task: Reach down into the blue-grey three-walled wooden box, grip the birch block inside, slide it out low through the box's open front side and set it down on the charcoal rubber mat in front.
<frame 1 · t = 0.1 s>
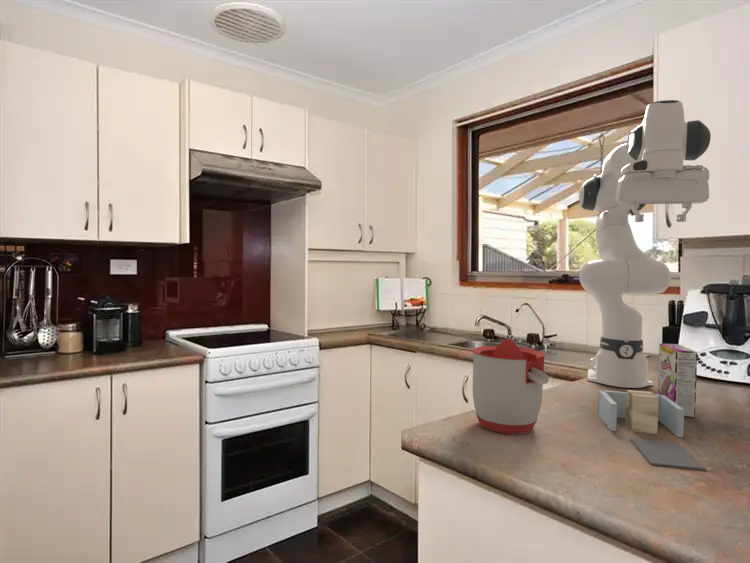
hand: (660, 221, 118), 48 cm above the counter, fingers open, 8 cm apart
candy bar box: (674, 411, 121), on the counter
citrus juicer: (508, 428, 105), on the counter
open-side box: (641, 428, 106), on the counter
charcoal mat: (665, 454, 92), on the counter
birch block: (641, 411, 106), in the open-side box
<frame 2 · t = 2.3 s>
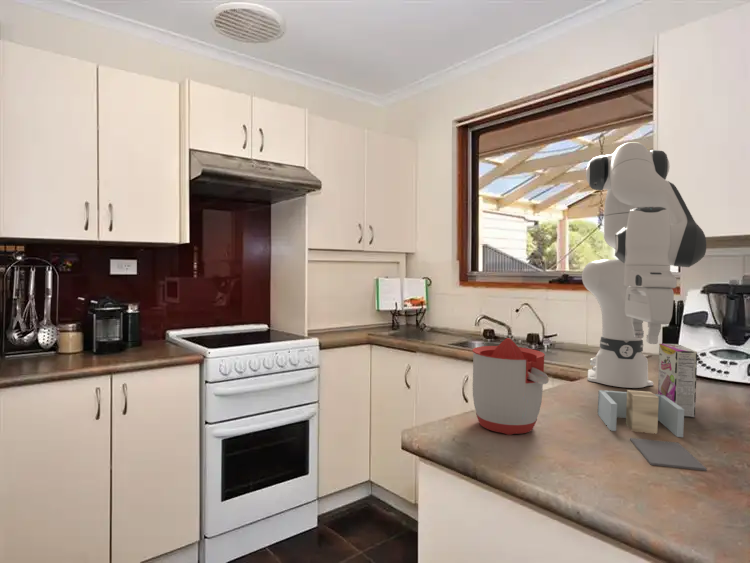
hand: (644, 340, 105), 20 cm above the counter, fingers open, 8 cm apart
nothing on the counter moved.
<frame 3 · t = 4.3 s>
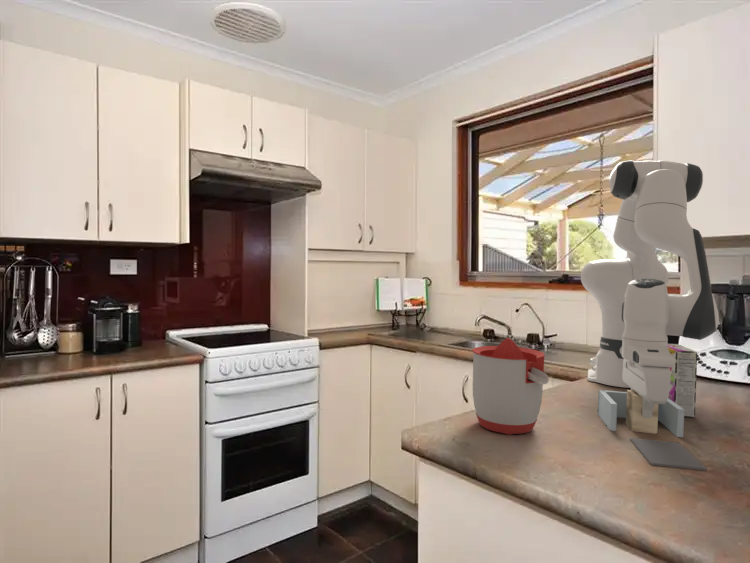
hand: (641, 412, 106), 4 cm above the counter, fingers closed on birch block, 5 cm apart
birch block: (641, 411, 106), in the open-side box, touching gripper
everything else where it was.
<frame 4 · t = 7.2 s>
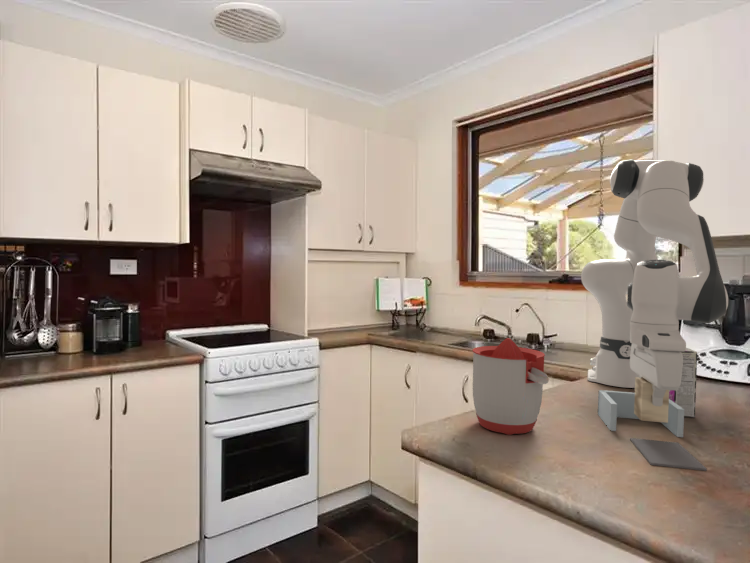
hand: (651, 401, 100), 8 cm above the counter, fingers closed on birch block, 5 cm apart
birch block: (651, 399, 100), point 8 cm above the counter, touching gripper
everything else where it was.
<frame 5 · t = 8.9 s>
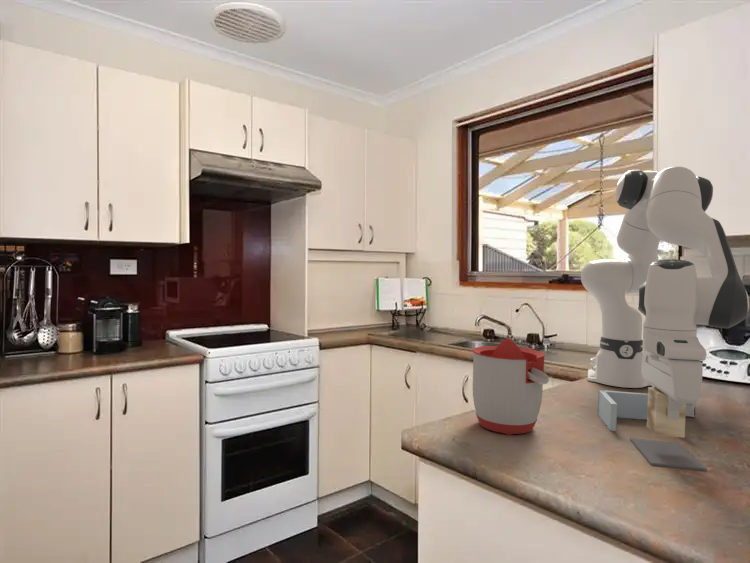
hand: (665, 413, 92), 8 cm above the counter, fingers closed on birch block, 5 cm apart
birch block: (665, 411, 92), point 8 cm above the counter, touching gripper
everything else where it was.
when the fingers open (5 cm above the counter, at t = 10.4 s): birch block stays where it is, resting on charcoal mat.
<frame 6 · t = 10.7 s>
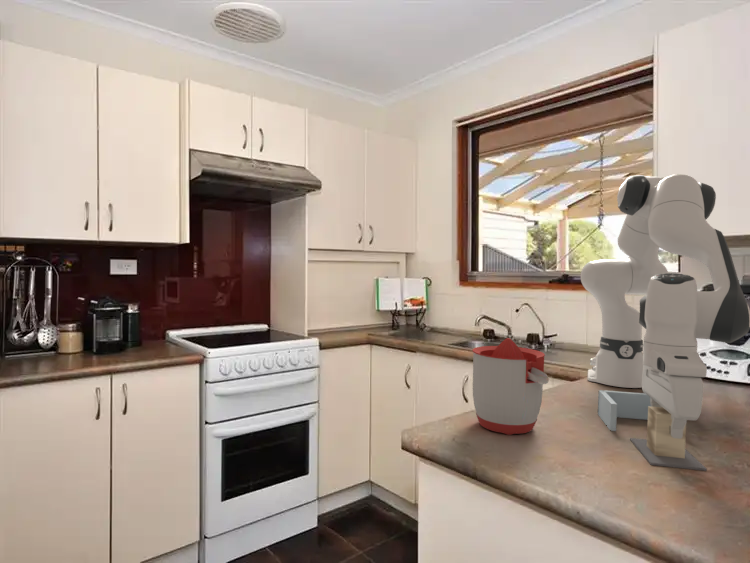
hand: (666, 428, 92), 5 cm above the counter, fingers open, 8 cm apart
birch block: (665, 431, 92), on the charcoal mat
everything else where it was.
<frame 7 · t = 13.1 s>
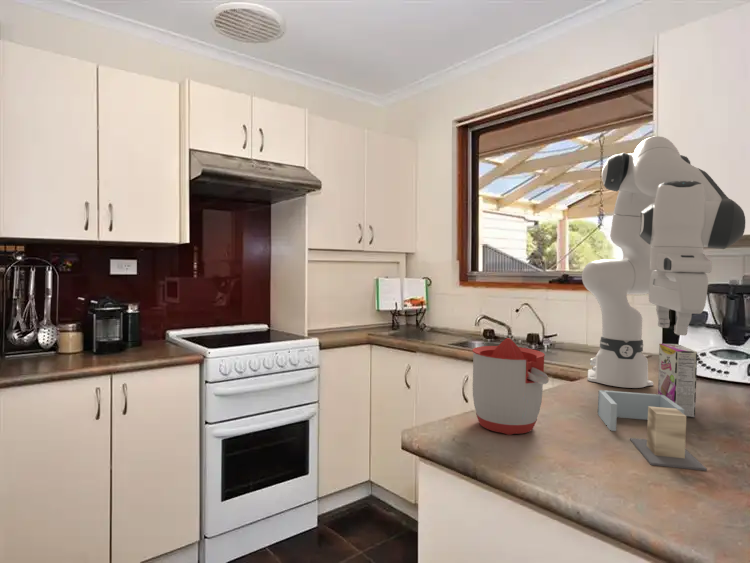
hand: (671, 330, 95), 24 cm above the counter, fingers open, 8 cm apart
nothing on the counter moved.
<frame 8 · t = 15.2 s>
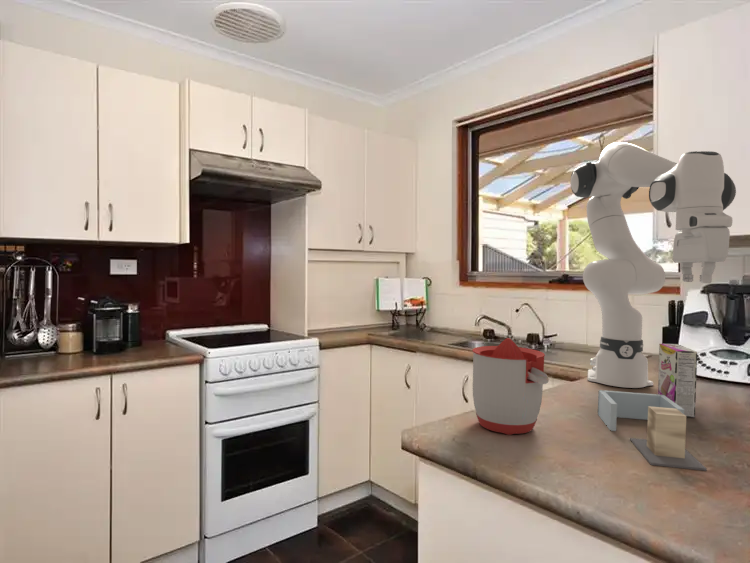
hand: (696, 282, 108), 33 cm above the counter, fingers open, 8 cm apart
nothing on the counter moved.
at the end: birch block inside the target area on the charcoal mat (0.1 cm from its centre), point 4.4 cm above the charcoal mat's base; birch block tilted 0°; the gripper is holding nothing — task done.
